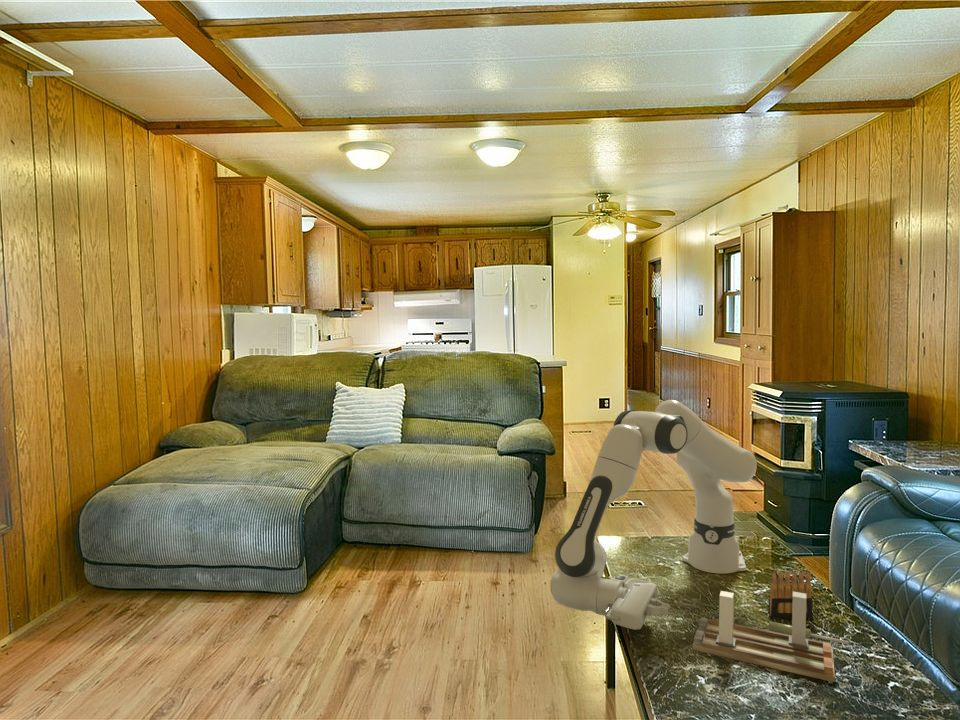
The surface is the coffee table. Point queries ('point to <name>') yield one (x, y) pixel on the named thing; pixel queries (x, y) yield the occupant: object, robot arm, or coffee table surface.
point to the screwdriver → (788, 630)
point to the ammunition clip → (788, 595)
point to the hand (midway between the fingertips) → (668, 610)
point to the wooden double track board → (768, 650)
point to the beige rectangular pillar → (726, 620)
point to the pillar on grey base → (799, 621)
